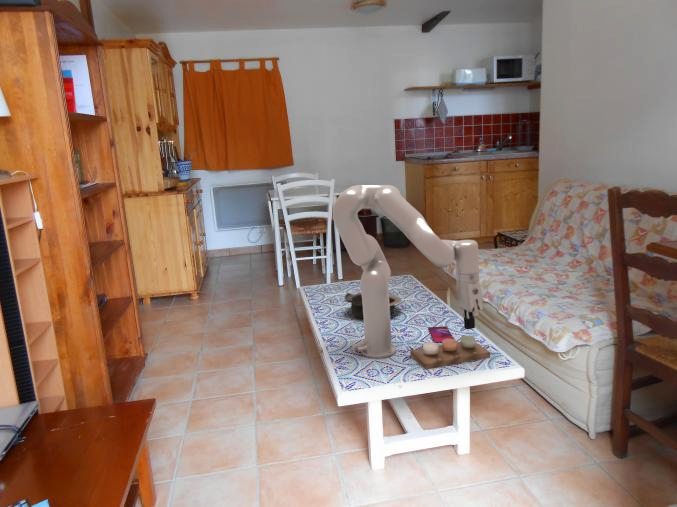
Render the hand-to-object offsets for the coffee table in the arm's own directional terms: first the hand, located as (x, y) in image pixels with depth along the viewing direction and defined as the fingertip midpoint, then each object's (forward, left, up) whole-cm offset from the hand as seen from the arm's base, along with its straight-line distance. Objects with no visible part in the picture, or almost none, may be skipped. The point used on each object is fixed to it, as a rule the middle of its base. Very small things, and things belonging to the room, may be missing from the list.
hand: (469, 327), depth 174 cm
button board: (-8, 0, -9) cm, 12 cm away
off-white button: (-15, 0, -6) cm, 16 cm away
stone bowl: (-17, +54, -10) cm, 58 cm away
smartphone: (-2, +19, -10) cm, 22 cm away
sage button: (-1, 0, -6) cm, 6 cm away
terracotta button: (-8, 0, -6) cm, 10 cm away
